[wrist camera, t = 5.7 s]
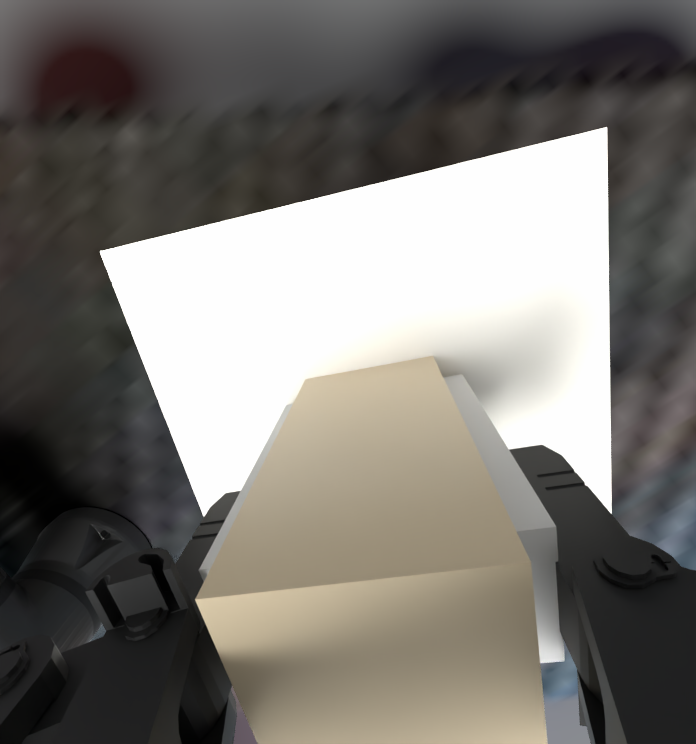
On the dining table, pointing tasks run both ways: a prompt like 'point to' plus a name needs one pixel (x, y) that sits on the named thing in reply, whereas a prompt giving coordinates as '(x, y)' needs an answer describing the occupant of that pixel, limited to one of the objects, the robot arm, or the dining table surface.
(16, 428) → the dining table surface
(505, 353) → the lid
